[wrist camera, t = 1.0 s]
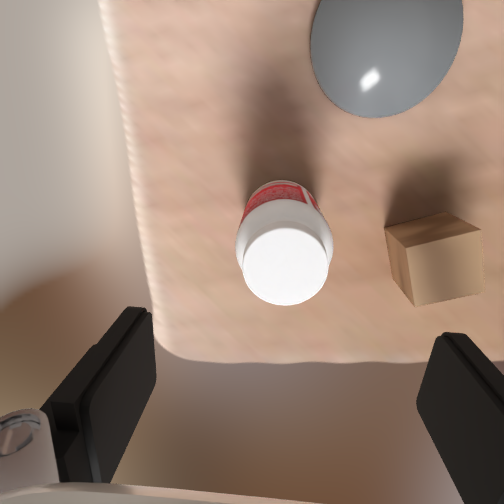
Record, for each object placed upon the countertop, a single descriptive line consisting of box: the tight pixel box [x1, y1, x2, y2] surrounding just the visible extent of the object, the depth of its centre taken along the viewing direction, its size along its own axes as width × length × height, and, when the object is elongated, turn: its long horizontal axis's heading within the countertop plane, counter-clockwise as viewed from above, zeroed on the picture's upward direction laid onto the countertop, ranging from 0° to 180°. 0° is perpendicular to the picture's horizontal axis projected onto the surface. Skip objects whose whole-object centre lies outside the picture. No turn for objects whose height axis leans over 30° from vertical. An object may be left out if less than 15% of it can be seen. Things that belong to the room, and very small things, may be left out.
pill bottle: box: [235, 180, 333, 305], centre depth 22 cm, size 6×6×11 cm
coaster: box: [310, 0, 463, 118], centre depth 22 cm, size 10×10×1 cm
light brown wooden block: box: [384, 212, 485, 307], centre depth 26 cm, size 5×5×5 cm
